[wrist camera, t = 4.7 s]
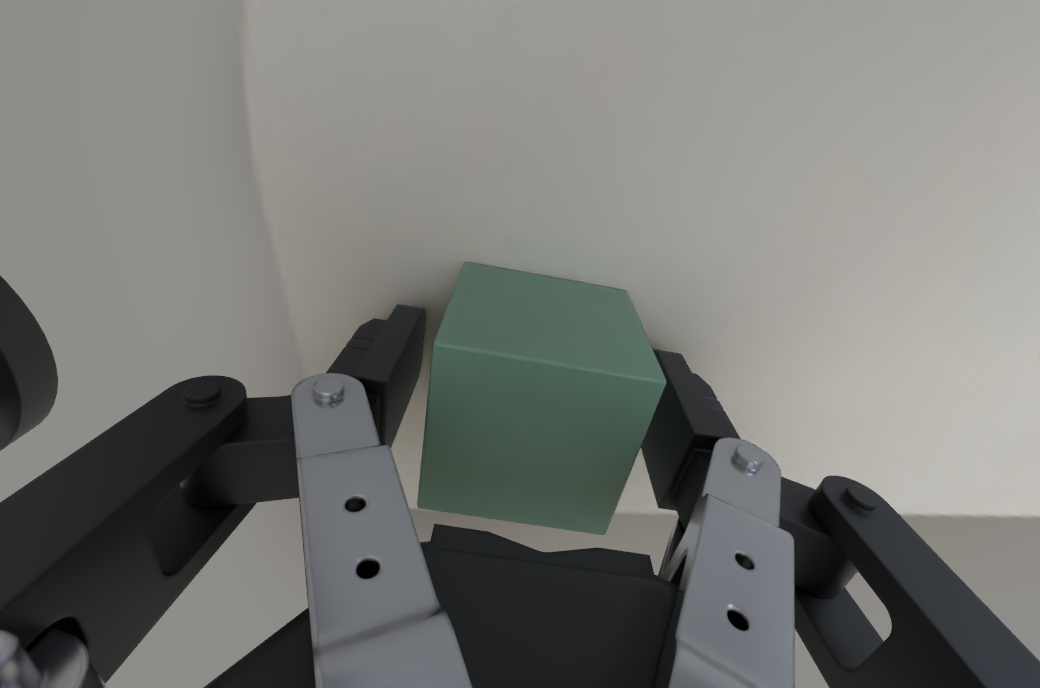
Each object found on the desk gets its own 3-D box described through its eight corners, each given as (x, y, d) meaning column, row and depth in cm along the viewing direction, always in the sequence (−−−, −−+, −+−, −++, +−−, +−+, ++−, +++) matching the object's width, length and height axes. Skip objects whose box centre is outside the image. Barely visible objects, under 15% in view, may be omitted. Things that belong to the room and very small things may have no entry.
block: (448, 395, 14) (415, 509, 10) (464, 260, 12) (432, 341, 8) (587, 417, 15) (605, 537, 11) (627, 289, 12) (668, 381, 9)
